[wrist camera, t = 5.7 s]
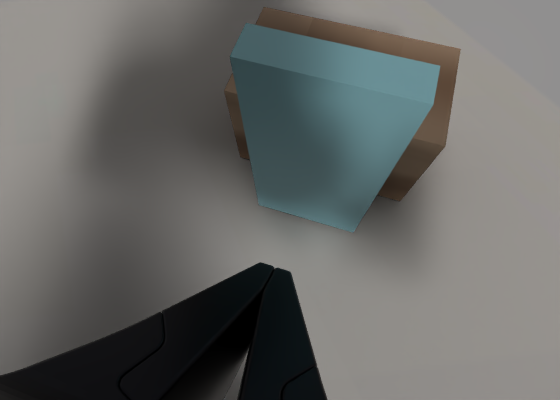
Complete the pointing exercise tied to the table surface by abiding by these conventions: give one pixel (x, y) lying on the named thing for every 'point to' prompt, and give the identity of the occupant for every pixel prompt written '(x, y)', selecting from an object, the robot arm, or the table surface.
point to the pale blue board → (325, 120)
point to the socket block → (437, 120)
